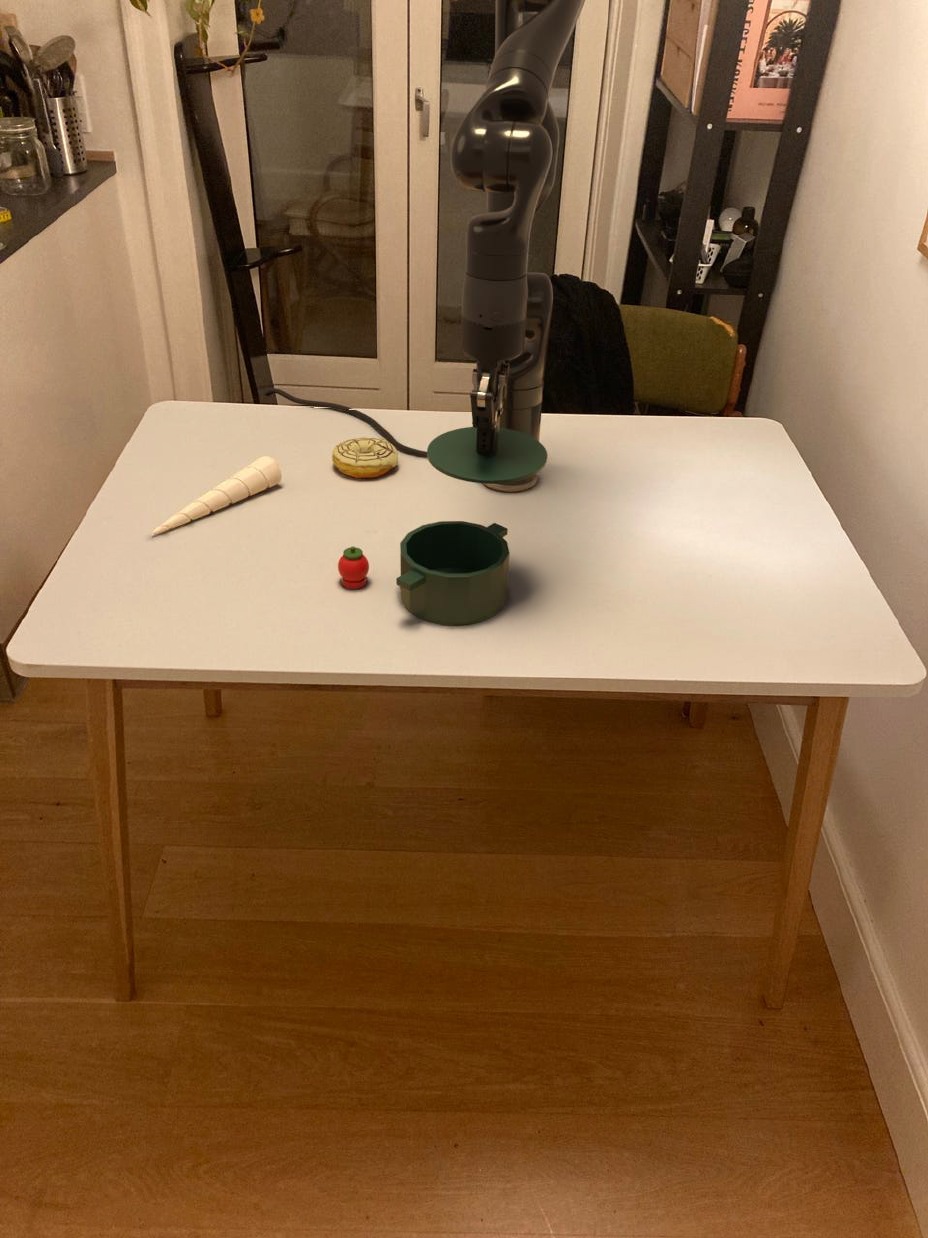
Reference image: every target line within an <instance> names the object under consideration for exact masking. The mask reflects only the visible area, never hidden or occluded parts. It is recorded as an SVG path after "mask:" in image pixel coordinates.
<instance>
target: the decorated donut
mask: <svg viewBox="0 0 928 1238" xmlns="http://www.w3.org/2000/svg"><path fill="white" fill-rule="evenodd" d="M331 457H332V459H331V461H332V463H333V464H334V465H335V467H336V468H337V469H338V470H339V472H341V473H342V474H344V475H347V476H349V477H352V478H356V479H360V478H361V479H362V478H363V479H364V478H368V479H369V478H370V479H371V478H377V477H380V476H383V475H385V474H387V472H389V471H390V470H392V469H393V468H394V467H396V466H397V465H398V462H399V452H398V450H397V448H396V447H395V446H394V445H392V444H391V442H390V441H389V440H385V439H383V438H375V437H365V436H364V437H357V438H351V439H347V440H343V441H342V442H338V444H336V445H335V447H333V449H332V455H331Z"/></svg>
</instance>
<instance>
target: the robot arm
mask: <svg viewBox="0 0 928 1238" xmlns="http://www.w3.org/2000/svg"><path fill="white" fill-rule="evenodd" d="M585 2H586V0H495V28H494V29H495V34H494V35H495V36H494V37H495V44H494V46H495V47H494V57H493V60H492V63H491V67H490V70H489V74H488V78H487V81H486V85H485V88H484V91H483V92H482V94H481V95H480V96H479V97H478V99H477V101H475V103H474V105H473V106H472V107H471V108H470V110H469V111H468V112H467V113H466V115H465V116H464V117H463V119H462V121H461V122H460V124H459V126H458V127H457V130H456V131H455V134H454V137H453V139H452V143H451V148H450V154H449V155H450V156H449V159H450V161H449V163H450V168H451V172H452V175H453V177H454V179H455V181H456V182H457V183H458V184H459V185H460V186H461V187H462V188H463V189H466V190H468V191H472V192H480V193H482V192H483V193H486V212H485V213H479V214H477V215H475V216H473V217H472V218H470V219H469V221H468V222H467V226H466V233H465V257H464V258H465V260H464V279H463V283H462V290H461V291H462V292H461V321H460V349H461V351H462V352H463V353H464V354H465V355H466V356H468V357H469V358H473V359H474V360H476V366H475V367H476V368H473V369H472V375H471V383H472V385H473V388H472V390H471V392H470V394H469V398H470V407H471V409H470V410H471V420H472V421H471V425H472V427H473V428H477V442H476V452H477V453H478V454H482V455H493V453H494V450H495V432H496V426H497V413H498V414H499V415H500V417H499V428H506V429H511V430H515V431H518V432H521V433H524V434H526V435H529V436H531V437H533V438H534V439H536V440H537V441H539V442H540V435H541V424H542V423H541V422H542V411H543V410H542V409H543V397H544V385H545V372H546V364H547V355H548V354H547V353H548V345H549V336H550V329H551V323H552V316H553V315H552V314H553V305H554V291H553V284H552V282H551V279H550V277H549V276H548V275H547V273H544V272H533V271H532V272H531V271H530V272H529V271H528V262H529V248H530V238H531V237H530V236H531V231H532V227H533V221H534V218H535V216H536V215H537V213H538V212H539V210H540V209H541V208H542V206H543V205H544V204H545V202H546V201H547V199H548V197H549V196H550V194H551V192H552V189H553V188H554V185H555V182H556V177H557V176H556V174H557V166H558V156H559V146H560V128H559V127H560V126H559V124H558V120H557V117H556V114H555V112H554V110H553V108H552V105H551V103H550V100H549V99H550V95H551V91H552V87H553V82H554V79H555V78H554V77H555V74H556V71H557V67H558V65H559V63H560V61H561V57H562V56H563V53H564V51H565V49H566V47H567V45H568V43H569V41H570V38H571V36H572V35H573V32H574V29H575V27H576V24H577V23H578V20H579V17H580V16H581V13H582V11H583V8H584V5H585ZM523 14H527V15H533V16H532V17H530V18H529V19H528V20H527V21H525V22H524V21H523ZM274 394H277V395H279V396H281V397H283V398H285V399H287V400H288V401H291V403H292V402H293V403H294V404H299V405H304V406H311V407H320V408H328V409H334V410H337V411H341V412H345V413H348V414H351V415H353V416H356V417H357V418H360V419H362V420H364V421H366V422H367V423H368V424H370V425H372V426H373V427H374V429H376V430H377V431H378V432H379V433H380V434H381V435H382V436H384V438H386V439H387V441H388V442H389V443H390V444H392V445H393V446H394V447H395V448H396V449H398V450H400V451H402V452H405V453H408V454H410V455H413V456H418V457H422V458H428V457H427V451H426V450H425V451H424V450H420V449H416V448H412V447H410V446H407V445H404V444H402V443H400V442H399V441H397V440H396V438H395V437H393V435H392V434H391V433H390V432H389V431H388V430H387V429H386V428H384V427H383V426H382V425H381V424H380V423H378V422H377V421H376V420H375V419H374V418H372V417H371V416H369V415H368V414H366V413H363V412H362V411H359V410H357V409H355V410H349V409H353V408H352V407H349V406H346V405H343V404H337V403H333V402H329V401H319V400H311V399H309V400H308V399H303V398H298V397H296V396H293V395H292V394H290V393H288V392H286V391H284V390H282V389H280V388H277V387H276V388H275V387H273V388H269V389H268V390H266V391H265V393H264V394H263V396H266V397H270V396H271V395H274ZM498 440H499V435H498ZM537 479H538V473H537V474H535V475H533V476H531V477H529V478H526V479H523V480H519V481H515V482H509V483H500V484H484V483H482V484H483V485H484V486H485V487H487V488H489V489H492V490H495V491H498V492H507V493H508V492H509V493H513V492H514V493H515V492H516V493H517V492H522V491H526V490H528V489H531V488H533V487H534V486H535V485H536V483H537V481H538V480H537Z"/></svg>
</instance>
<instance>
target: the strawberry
mask: <svg viewBox="0 0 928 1238" xmlns="http://www.w3.org/2000/svg"><path fill="white" fill-rule="evenodd" d="M369 570H370V563H369V560H368V558H367V557H366V555H365V554H364V553H363V550H362V549H361V548H360V547H356V546H351V547H350V546H349V547H347V548H345V549H344V550H343V551H342V555H341V557H340V558H339V560H338V562H337V571H338V574H339V575H340V576H341V579H342V580H341V581H342V585H343V587H345V588H346V589H351V590H356V589H361V588H363V587H365V585H366V584H367V575H368V573H369Z"/></svg>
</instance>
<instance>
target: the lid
mask: <svg viewBox="0 0 928 1238" xmlns="http://www.w3.org/2000/svg"><path fill="white" fill-rule="evenodd" d="M499 417H500V415H499V414H498V413H497V426H496V432H495V450H494V453H493V455H482V454H478V453H477V452H476V442H477V428H473V426H465V427H460V428H457V429H452V430H448V431H446V432H443V433H441V434H440V435H437V436H436V437H435V438H433V439H432V440H431V441H430V443H429V444H428V445H427V448H426V452H427V457H426V458H427V460H428V462H429V464H430V465H431V466H432V467H433V468H434V469H435V470H437V471H438V472H440V473H442V474H443V475H445V476H447V477H450V478H453V479H456V480H460V481H463V482H469V483H475V484H483V483H484V484H500V483H509V482H515V481H519V480H523V479H526V478H529V477H531V476H533V475H535V474H537V475H538V473H540V472H542V470H543V469H544V468H545V467H546V465H547V462H548V451H547V449H546V447H545V446H544V444H542V443H541V442H540V440H539V441H537V440H536V439H534V438H533V437H531V436H529V435H526V434H524V433H521V432H518V431H515V430H511V429H506V428H499ZM498 435H499V440H498ZM484 484H483V485H484Z"/></svg>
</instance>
